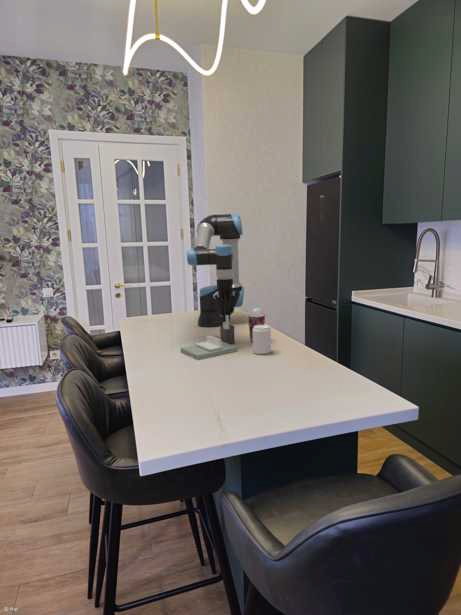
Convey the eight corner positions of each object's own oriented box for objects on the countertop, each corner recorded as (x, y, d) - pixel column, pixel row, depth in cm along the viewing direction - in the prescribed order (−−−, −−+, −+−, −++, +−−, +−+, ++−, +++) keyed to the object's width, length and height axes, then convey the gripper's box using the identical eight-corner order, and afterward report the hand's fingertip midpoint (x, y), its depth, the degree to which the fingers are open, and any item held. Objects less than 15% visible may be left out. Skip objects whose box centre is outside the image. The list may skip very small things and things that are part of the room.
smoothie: (265, 339, 203) (265, 300, 199) (265, 343, 195) (264, 303, 191) (249, 339, 204) (248, 300, 200) (248, 344, 196) (247, 303, 192)
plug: (228, 341, 201) (228, 320, 199) (234, 343, 197) (234, 321, 195) (220, 343, 198) (219, 321, 196) (226, 345, 194) (225, 323, 192)
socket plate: (218, 344, 197) (218, 340, 197) (237, 351, 184) (237, 346, 184) (180, 352, 185) (180, 347, 185) (198, 360, 172) (197, 355, 172)
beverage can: (269, 355, 176) (269, 328, 174) (251, 354, 178) (251, 328, 176) (271, 350, 184) (271, 324, 182) (254, 349, 185) (253, 324, 183)
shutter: (207, 342, 191) (207, 334, 191) (223, 348, 181) (222, 340, 180) (195, 345, 188) (194, 337, 187) (209, 351, 177) (209, 342, 176)
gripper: (231, 277, 191) (232, 325, 195) (208, 279, 184) (210, 329, 188) (240, 277, 185) (242, 327, 189) (217, 280, 178) (219, 332, 182)
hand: (226, 328), depth 188 cm, fingers closed
